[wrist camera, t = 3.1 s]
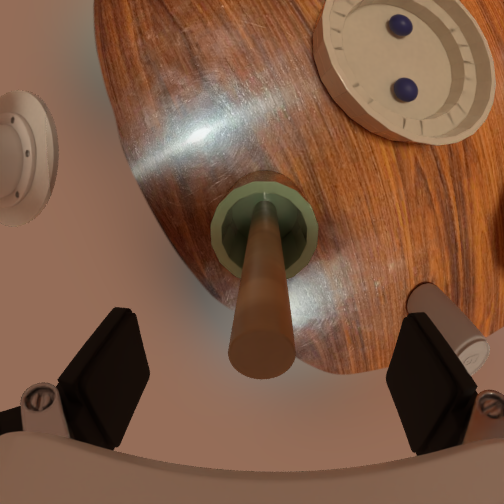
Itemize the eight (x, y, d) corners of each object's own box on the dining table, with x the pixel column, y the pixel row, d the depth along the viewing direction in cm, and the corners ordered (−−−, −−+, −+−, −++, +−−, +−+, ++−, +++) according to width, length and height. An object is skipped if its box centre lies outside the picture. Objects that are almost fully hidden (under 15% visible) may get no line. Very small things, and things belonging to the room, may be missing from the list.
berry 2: (390, 100, 24) (400, 98, 21) (389, 77, 23) (399, 73, 21) (411, 104, 24) (422, 102, 21) (410, 82, 23) (421, 78, 20)
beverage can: (408, 282, 31) (459, 345, 20) (442, 279, 31) (497, 335, 19) (402, 318, 33) (443, 385, 21) (434, 313, 32) (480, 374, 21)
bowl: (312, 133, 26) (325, 131, 20) (307, -21, 20) (315, -50, 14) (463, 153, 25) (496, 158, 20) (453, 14, 19) (481, -1, 14)
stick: (252, 223, 29) (229, 379, 10) (252, 200, 28) (226, 328, 9) (276, 223, 28) (293, 380, 10) (276, 200, 28) (298, 329, 9)
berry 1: (386, 36, 21) (395, 29, 19) (384, 16, 20) (392, 8, 18) (407, 41, 21) (418, 35, 19) (405, 21, 20) (415, 14, 18)
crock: (226, 247, 30) (213, 283, 23) (223, 170, 28) (208, 181, 20) (302, 248, 30) (314, 284, 23) (305, 171, 27) (320, 182, 20)
